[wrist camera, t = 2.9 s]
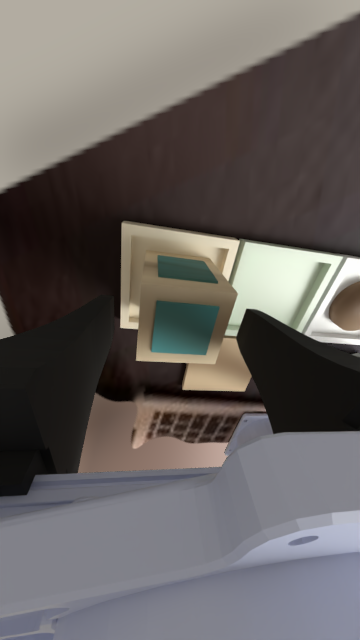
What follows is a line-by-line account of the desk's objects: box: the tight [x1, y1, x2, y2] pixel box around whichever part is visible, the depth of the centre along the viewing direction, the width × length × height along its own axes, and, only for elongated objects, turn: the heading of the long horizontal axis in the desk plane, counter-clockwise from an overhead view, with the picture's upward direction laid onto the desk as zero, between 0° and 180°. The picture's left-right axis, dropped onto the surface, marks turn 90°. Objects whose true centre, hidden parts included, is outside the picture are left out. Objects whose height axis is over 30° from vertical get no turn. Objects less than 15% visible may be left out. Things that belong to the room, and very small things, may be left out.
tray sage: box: [225, 238, 343, 336], centre depth 17 cm, size 8×8×1 cm
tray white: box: [301, 253, 360, 345], centre depth 18 cm, size 8×8×1 cm
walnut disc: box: [329, 281, 360, 331], centre depth 18 cm, size 4×4×1 cm
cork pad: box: [182, 335, 252, 391], centre depth 21 cm, size 7×7×1 cm
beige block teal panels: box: [136, 250, 238, 364], centre depth 13 cm, size 5×4×6 cm
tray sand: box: [121, 221, 240, 329], centre depth 16 cm, size 8×8×1 cm
